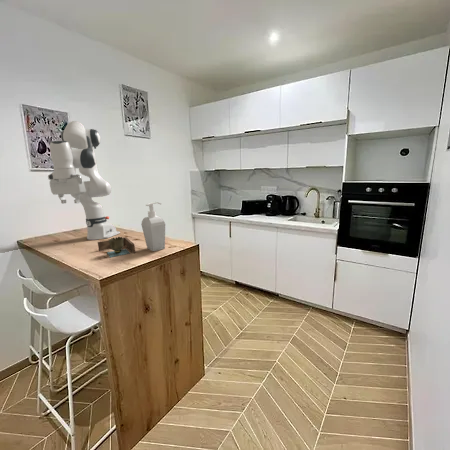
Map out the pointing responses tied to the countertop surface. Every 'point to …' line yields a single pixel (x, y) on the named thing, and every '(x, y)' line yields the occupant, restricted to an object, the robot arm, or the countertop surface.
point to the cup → (116, 244)
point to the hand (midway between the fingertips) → (70, 203)
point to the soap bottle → (154, 229)
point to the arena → (126, 242)
